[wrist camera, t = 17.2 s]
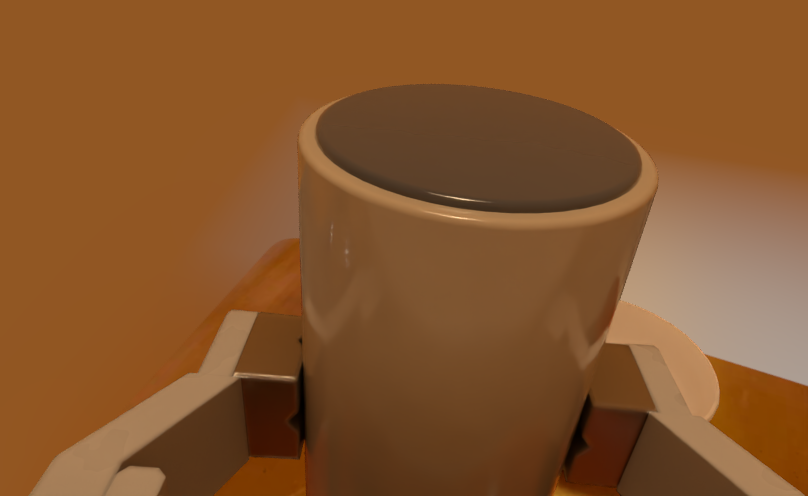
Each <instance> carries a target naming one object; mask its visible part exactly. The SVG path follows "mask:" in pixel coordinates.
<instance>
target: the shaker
mask: <svg viewBox="0 0 808 496" xmlns="http://www.w3.org/2000/svg"><path fill="white" fill-rule="evenodd" d="M297 148H298V185H299V186H298V187H299V188H298V189H299V231H300V272H301V314H302V356H303V397H304V439H305V480H306V496H554V493H555V490H556V487H557V484H558V481H559V478H560V475H561V472H562V469H563V466H564V463H565V461H566V458H567V455H568V452H569V449H570V446H571V443H572V440H573V437H574V434H575V431H576V428H577V425H578V422H579V419H580V416H581V413H582V410H583V407H584V404H585V401H586V398H587V395H588V392H589V390H590V387H591V384H592V381H593V378H594V375H595V372H596V369H597V366H598V363H599V360H600V357H601V354H602V351H603V348H604V345H605V342H606V339H607V336H608V333H609V330H610V327H611V324H612V321H613V319H614V316H615V313H616V310H617V307H618V304H619V301H620V298H621V295H622V292H623V289H624V286H625V283H626V280H627V277H628V274H629V271H630V268H631V265H632V262H633V259H634V256H635V253H636V250H637V248H638V244H639V242H640V238H641V236H642V233H643V229H644V227H645V224H646V221H647V218H648V215H649V212H650V209H651V206H652V203H653V200H654V197H655V194H656V191H657V188H658V172H657V169H656V165H655V163H654V161H653V160H652V158H651V157H650V155H649V154H648V153H647V152H646V151H645V150H644V148H643V147H642V146H640V145H639V144H638V143H637V142H635V141H634V140H633V139H632V138H630V137H629V136H627V135H626V134H624V133H622V132H621V131H619V130H617V129H615V128H614V127H612V126H610V125H609V124H607V123H605V122H603V121H601V120H599V119H597V118H595V117H593V116H591V115H589V114H586V113H584V112H582V111H580V110H577V109H574V108H571V107H569V106H566V105H563V104H560V103H557V102H554V101H550V100H547V99H543V98H539V97H535V96H531V95H526V94H522V93H517V92H511V91H506V90H500V89H493V88H486V87H485V88H484V87H477V86H466V85H449V84H417V85H403V86H392V87H385V88H379V89H374V90H369V91H365V92H361V93H358V94H354V95H351V96H348V97H344V98H341V99H338V100H335V101H333V102H330V103H328V104H326V105H324V106H322V107H321V108H319V109H317V110H316V111H314V112H313V113H312V114H311V115H309V116H308V118H307V119H306V120H305V121H304V122H303V125H302V127H301V129H300V132H299V134H298V144H297Z"/></svg>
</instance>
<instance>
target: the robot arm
mask: <svg viewBox="0 0 808 496" xmlns="http://www.w3.org/2000/svg"><path fill="white" fill-rule="evenodd" d="M303 443H304V397H303V356H302V316H293V315H284V314H275V313H265V312H260V313H259V312H252V311H242V310H233V309H232V310H231V311H230V312H229V313H228V314H226V316H225V319H224V321H223V323H222V325H221V327H220V329H219V331H218V333H217V335H216V337H215V339H214V341H213V343H212V345H211V347H210V349H209V351H208V353H207V355H206V357H205V359H204V361H203V363H202V365H201V367H200V369H199V371H198V373H188V374H186V375H184V376H183V377H181V378H180V379H178V380H177V381H175V382H173V383H172V384H170V385H169V386H167V387H165V388H164V389H162V390H161V391H159V392H157V393H156V394H154V395H153V396H151V397H149V398H148V399H146V400H145V401H143V402H141V403H140V404H138V405H137V406H135V407H134V408H132V409H130V410H129V411H127V412H126V413H124V414H122V415H121V416H119V417H118V418H116V419H114V420H113V421H111V422H110V423H108V424H106V425H105V426H103V427H102V428H100V429H98V430H97V431H96V432H94V433H92V434H91V435H89V436H87V437H86V438H84V439H83V440H81V441H79V442H78V443H76V444H75V445H73V446H72V447H70V448H68V449H67V450H65V451H63V452H62V453H60V454H59V455H57V456H56V457H55V458H54V459H53V461H52V462H51V464H50V465H49V467H48V468H47V470H46V471H45V473H44V474H43V476H42V477H41V479H40V480H39V482H38V483H37V485H36V486H35V488H34V489H33V490H32V492H31V493H30V495H29V496H213V495H214V494H215V493H216V492H217V491H218V490H219V489H220V488H221V487H222V486H223V485H224V484H225V483H226V482H227V481H228V480H229V479H230V478H231V477H232V476H233V475H234V474H235V473H236V472H237V471H238V470H239V469H240V468H241V467H242V466H243V465H244V464H245V463H246V462H247V461H248V460H249V457H263V458H281V459H299V460H300V456H301V452H302V447H303ZM563 470H564V474H565V479H566V482H569V483H578V484H587V485H596V486H605V487H614V488H617V492H618V493H619V494H620V495H621V496H805V495H804V494H802V493H801V492H800V491H798V490H797V489H796V488H794V487H793V486H792V485H791V484H789V483H788V482H787V481H785V480H784V479H783V478H781V477H780V476H779V475H777V474H776V473H775V472H773V471H772V470H771V469H770V468H768V467H767V466H766V465H764V464H763V463H762V462H760V461H759V460H758V459H756V458H755V457H754V456H752V455H751V454H750V453H749V452H747V451H746V450H745V449H743V448H742V447H741V446H739V445H738V444H737V443H735V442H734V441H733V440H731V439H730V438H729V437H728V436H726V435H725V434H724V433H722V432H721V431H720V430H718V429H717V428H716V427H714V426H713V425H712V424H710V423H709V422H708V421H707V420H705V419H704V418H703V417H701V416H692V414H691V412H690V410H689V408H688V406H687V404H686V402H685V400H684V398H683V396H682V394H681V392H680V390H679V388H678V386H677V384H676V383H675V381H674V379H673V377H672V375H671V373H670V371H669V369H668V367H667V365H666V363H665V361H664V359H663V357H662V355H661V353H660V351H659V349H658V348H656V347H655V346H654V345H641V344H616V343H605V345H604V348H603V351H602V354H601V357H600V360H599V363H598V366H597V369H596V372H595V375H594V378H593V381H592V384H591V387H590V390H589V392H588V395H587V398H586V401H585V404H584V407H583V410H582V413H581V416H580V419H579V422H578V425H577V428H576V431H575V434H574V437H573V440H572V443H571V446H570V449H569V452H568V455H567V458H566V461H565V463H564V466H563Z"/></svg>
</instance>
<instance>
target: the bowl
mask: <svg viewBox="0 0 808 496" xmlns="http://www.w3.org/2000/svg"><path fill="white" fill-rule="evenodd" d="M605 343H616V344H641V345H654V346H655V347H656V348H658V349H659V351H660V353H661V355H662V357H663V359H664V361H665V363H666V365H667V367H668V369H669V371H670V373H671V375H672V377H673V379H674V381H675V383H676V384H677V386H678V388H679V390H680V392H681V394H682V396H683V398H684V400H685V402H686V404H687V406H688V408H689V410H690V412H691V414H692V416H701V417H703V418H704V419H705V420H707V421H708V422H709V421H710V420H711V419H712V418H713V416H714V414H715V412H716V410H717V408H718V406H719V396H720V390H719V385H718V380H717V376H716V373H715V371H714V369H713V367H712V365H711V363H710V361H709V360H708V359H707V357H706V356H705V355H704V353H703V352H702V351H701V349H700V348H699V347H698V346H697V345H696V344H695V343H694V342H693V341H692V340H691V339H690V338H689V337H688V336H687V335H686V334H684V333H683V332H682V331H680V330H679V329H677V328H676V327H675V326H673V325H672V324H671V323H669V322H667V321H665V320H664V319H662V318H661V317H659V316H657V315H655V314H654V313H651V312H649V311H647V310H645V309H642V308H640V307H638V306H636V305H633V304H630V303H627V302H624V301H621V300H620V301H619V304H618V307H617V310H616V313H615V316H614V319H613V321H612V324H611V327H610V330H609V333H608V336H607V339H606V342H605ZM562 470H563V469H562Z"/></svg>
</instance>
